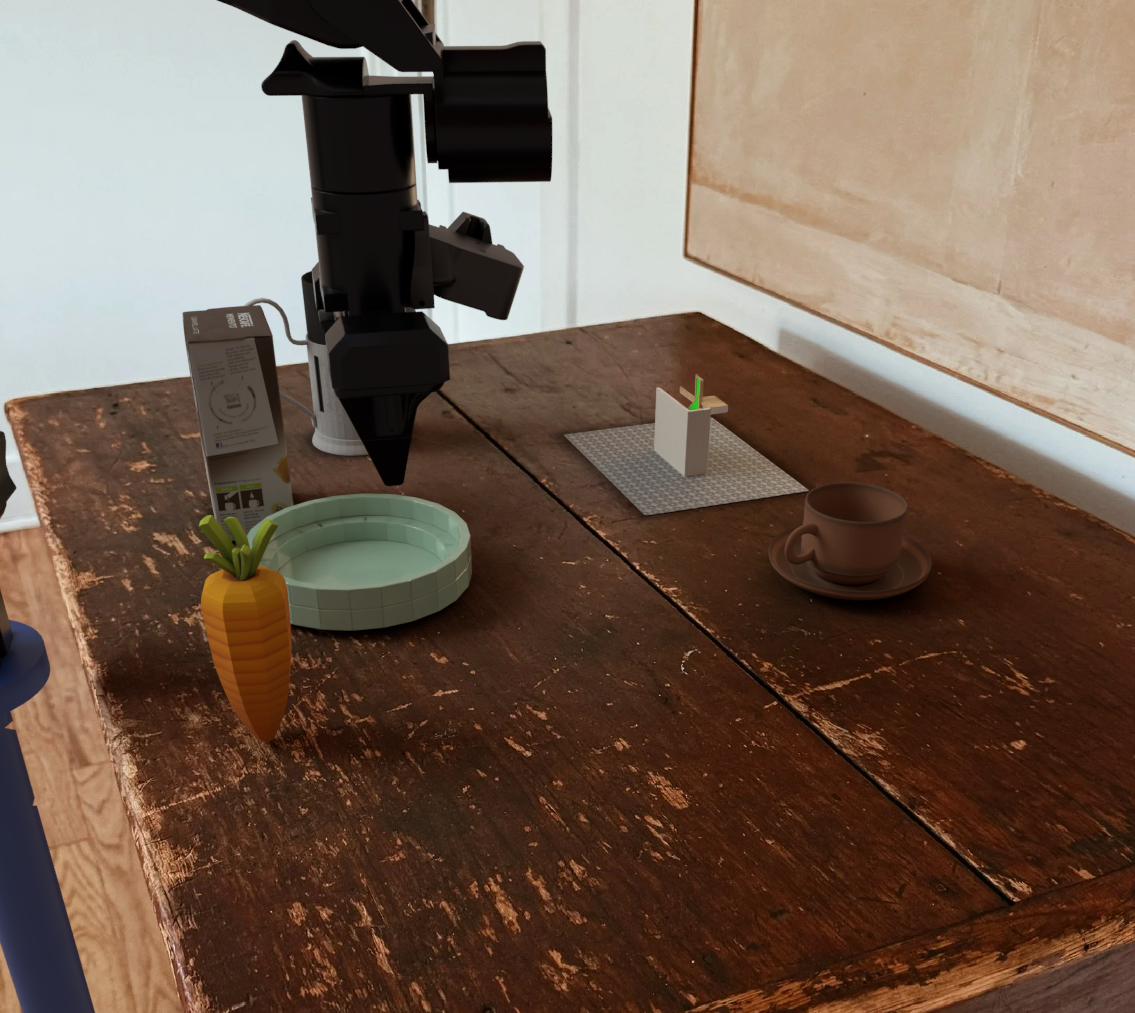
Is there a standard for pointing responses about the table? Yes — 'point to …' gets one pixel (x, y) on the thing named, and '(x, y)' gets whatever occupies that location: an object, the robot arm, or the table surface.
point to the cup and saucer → (851, 545)
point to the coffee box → (238, 412)
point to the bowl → (368, 559)
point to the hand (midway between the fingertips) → (386, 456)
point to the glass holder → (320, 383)
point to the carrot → (248, 626)
